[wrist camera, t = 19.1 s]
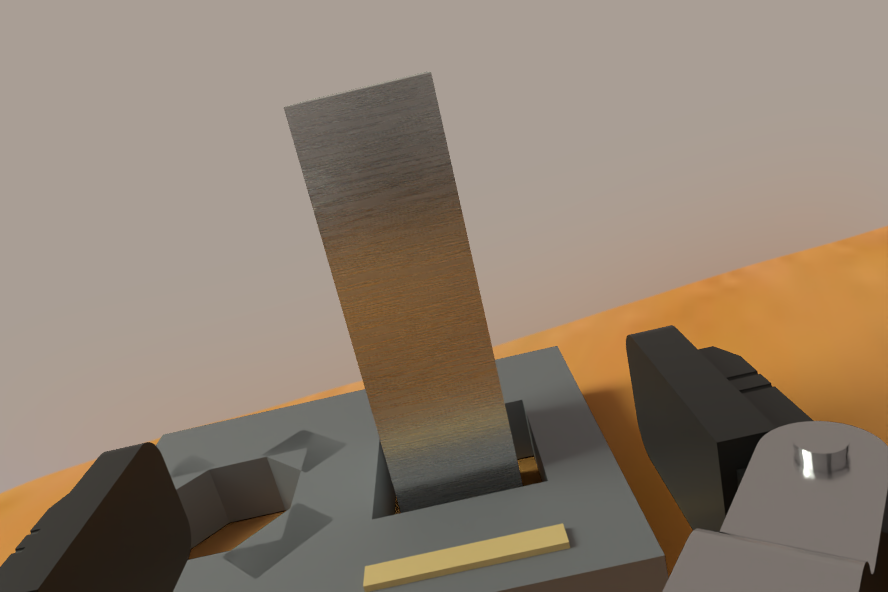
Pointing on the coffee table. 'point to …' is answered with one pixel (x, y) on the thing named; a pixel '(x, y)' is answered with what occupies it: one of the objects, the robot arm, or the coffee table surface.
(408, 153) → the square bit
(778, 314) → the coffee table surface
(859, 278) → the coffee table surface
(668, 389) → the robot arm
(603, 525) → the socket board
